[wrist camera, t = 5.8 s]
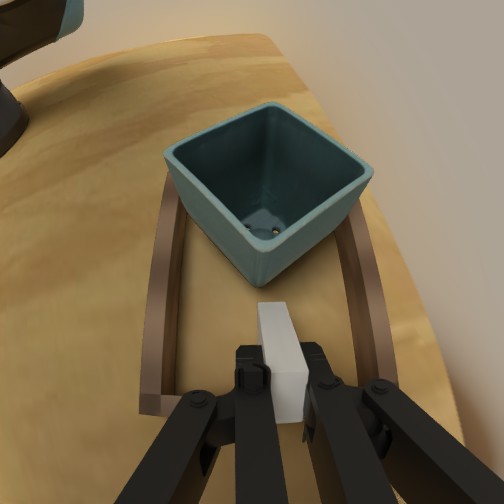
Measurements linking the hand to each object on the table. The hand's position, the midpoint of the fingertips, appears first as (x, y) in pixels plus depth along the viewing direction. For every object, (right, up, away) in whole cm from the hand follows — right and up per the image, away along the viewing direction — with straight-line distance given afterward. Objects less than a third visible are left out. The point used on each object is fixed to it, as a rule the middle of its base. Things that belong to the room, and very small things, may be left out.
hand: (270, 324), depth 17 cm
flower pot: (0, +4, +7) cm, 8 cm away
